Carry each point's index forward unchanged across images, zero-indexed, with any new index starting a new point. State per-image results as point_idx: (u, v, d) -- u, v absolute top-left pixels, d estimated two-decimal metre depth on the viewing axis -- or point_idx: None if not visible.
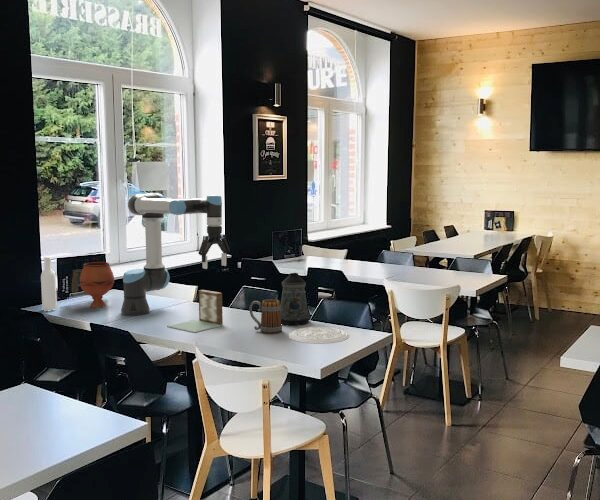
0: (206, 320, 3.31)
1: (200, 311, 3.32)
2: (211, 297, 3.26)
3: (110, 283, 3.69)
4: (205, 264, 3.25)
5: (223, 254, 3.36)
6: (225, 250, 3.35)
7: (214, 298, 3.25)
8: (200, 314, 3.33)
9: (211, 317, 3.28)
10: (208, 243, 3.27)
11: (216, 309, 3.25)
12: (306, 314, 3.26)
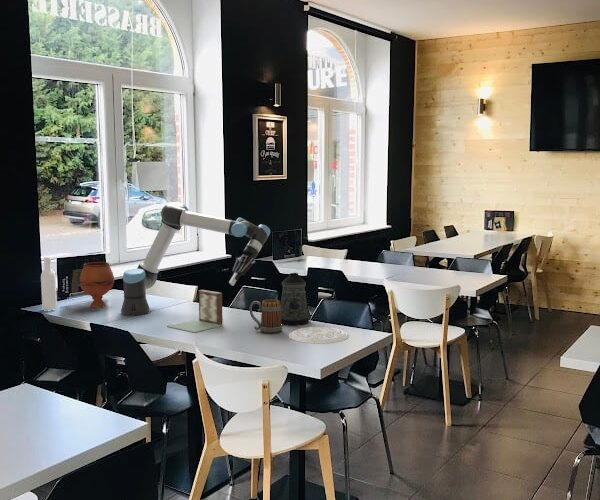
0: (206, 320, 3.31)
1: (200, 311, 3.32)
2: (211, 297, 3.26)
3: (110, 283, 3.69)
4: (234, 281, 3.41)
5: None
6: None
7: (214, 298, 3.25)
8: (200, 314, 3.33)
9: (211, 317, 3.28)
10: (245, 264, 3.45)
11: (216, 309, 3.25)
12: (306, 314, 3.26)
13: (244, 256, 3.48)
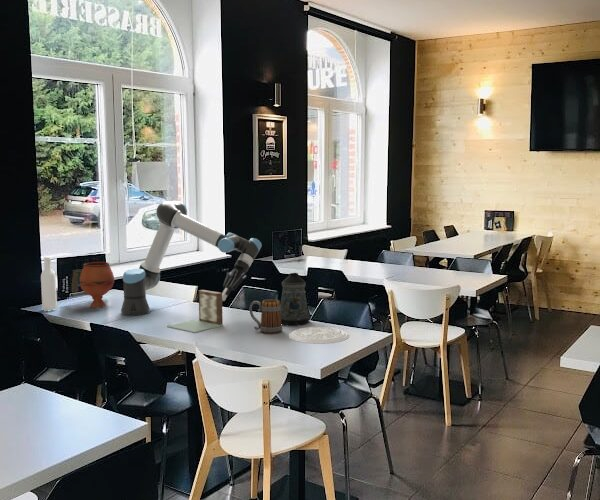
0: (206, 320, 3.31)
1: (200, 311, 3.32)
2: (211, 297, 3.26)
3: (110, 283, 3.69)
4: (225, 297, 3.36)
5: None
6: None
7: (214, 298, 3.25)
8: (200, 314, 3.33)
9: (211, 317, 3.28)
10: (236, 278, 3.40)
11: (216, 309, 3.25)
12: (306, 314, 3.26)
13: (235, 271, 3.42)
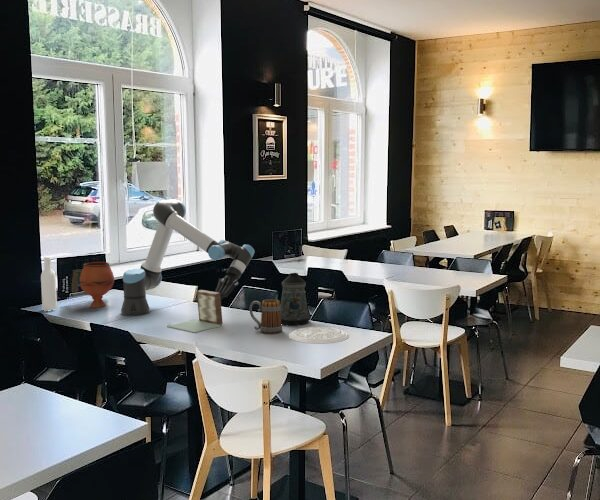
0: (206, 320, 3.30)
1: (200, 311, 3.32)
2: (210, 298, 3.26)
3: (110, 283, 3.69)
4: None
5: None
6: None
7: (212, 299, 3.25)
8: (200, 314, 3.33)
9: (210, 318, 3.28)
10: (228, 285, 3.36)
11: (215, 309, 3.25)
12: (306, 314, 3.26)
13: (227, 277, 3.39)
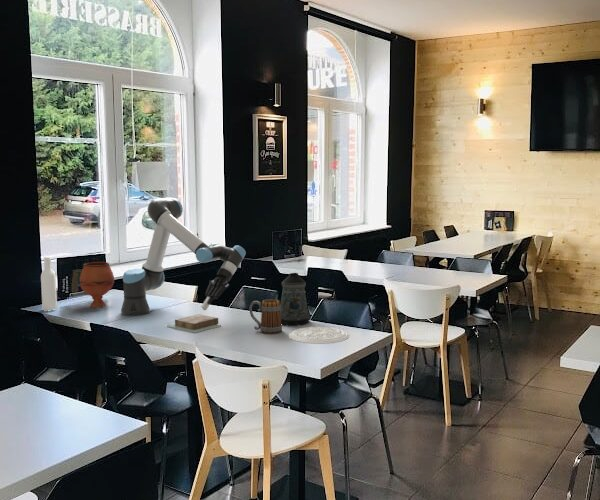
0: None
1: None
2: None
3: (110, 283, 3.69)
4: (207, 306, 3.27)
5: None
6: None
7: None
8: None
9: None
10: (219, 287, 3.31)
11: (205, 326, 3.20)
12: (306, 314, 3.26)
13: (218, 279, 3.34)
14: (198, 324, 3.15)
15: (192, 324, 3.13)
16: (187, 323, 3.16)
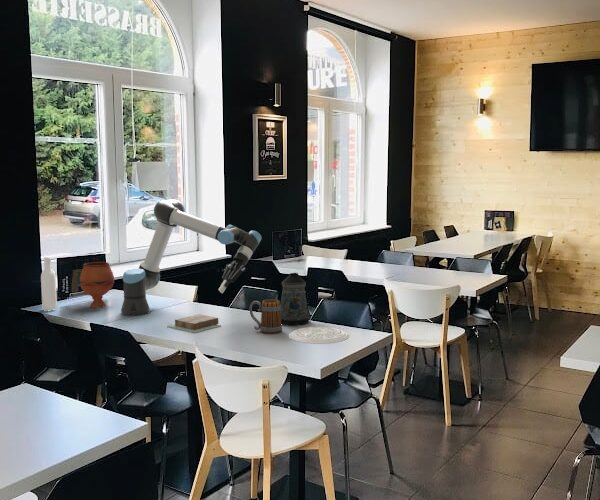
0: None
1: None
2: None
3: (110, 283, 3.69)
4: (224, 289, 3.35)
5: None
6: None
7: None
8: None
9: None
10: (235, 271, 3.39)
11: (205, 326, 3.20)
12: (306, 314, 3.26)
13: (234, 263, 3.42)
14: (198, 324, 3.15)
15: (192, 324, 3.13)
16: (187, 323, 3.16)
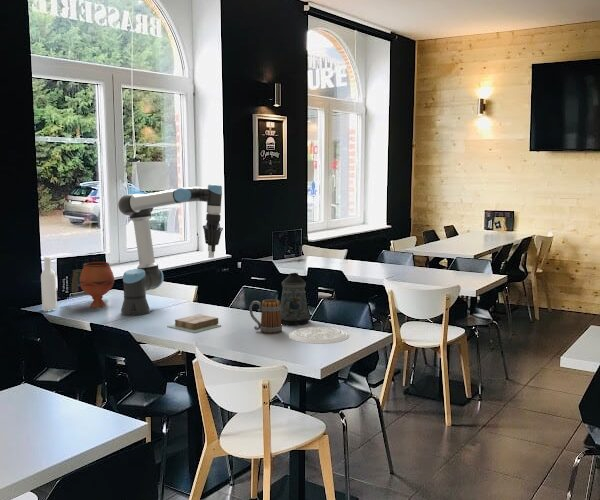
0: None
1: None
2: None
3: (110, 283, 3.69)
4: (213, 253, 3.47)
5: None
6: None
7: None
8: None
9: None
10: (214, 232, 3.45)
11: (205, 326, 3.20)
12: (306, 314, 3.26)
13: (209, 225, 3.45)
14: (198, 324, 3.15)
15: (192, 324, 3.13)
16: (187, 323, 3.16)
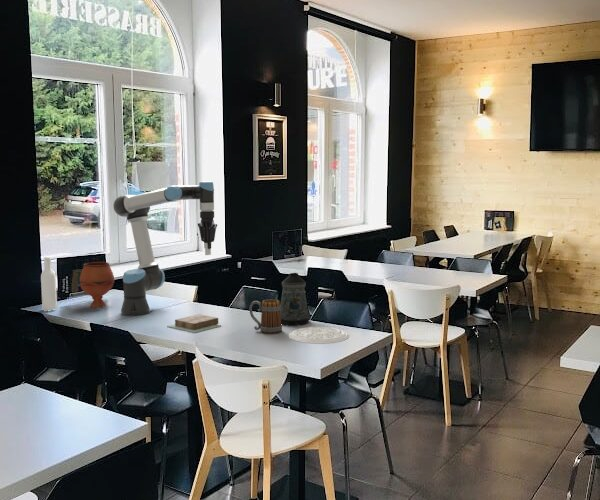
0: None
1: None
2: None
3: (110, 283, 3.69)
4: (209, 250, 3.46)
5: None
6: None
7: None
8: None
9: None
10: (209, 229, 3.44)
11: (205, 326, 3.20)
12: (306, 314, 3.26)
13: (204, 222, 3.44)
14: (198, 324, 3.15)
15: (192, 324, 3.13)
16: (187, 323, 3.16)
